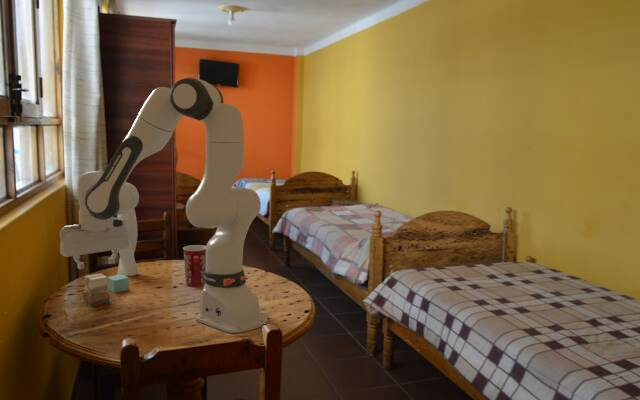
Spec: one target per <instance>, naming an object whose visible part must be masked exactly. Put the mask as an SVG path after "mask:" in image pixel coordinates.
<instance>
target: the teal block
mask: <svg viewBox="0 0 640 400" xmlns="http://www.w3.org/2000/svg"><path fill="white" fill-rule="evenodd" d="M129 285H130V284H129V277H128V276H124V275H117V274H116V275H111V276H107V290H110V291H111V292H112V293H114V294H115V293H119V292H124V291H129V287H130V286H129Z"/></svg>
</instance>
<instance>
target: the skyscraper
mask: <svg viewBox="0 0 640 400" xmlns="http://www.w3.org/2000/svg"><path fill="white" fill-rule="evenodd" d="M135 209H136V208H134V209H133V210H131V211H128V212H125V213H123V214H119V215H116V218H120V219H123V220H125V221H126V225H125V226H124V227H125V228H126V229H127V231H128V235H129V246H128V247H127V248H123V249H118V254H119V261H118V266H117V271H116V272H117V273H116V275H124V276H126V277H128V276H131V277H133V276H136V275H139V271H138V268H137V264H136V259H135V251H136V247H137V241H138V230H139V229H138V221H137V215H136V210H135Z"/></svg>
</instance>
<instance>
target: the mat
mask: <svg viewBox="0 0 640 400" xmlns="http://www.w3.org/2000/svg"><path fill="white" fill-rule="evenodd" d="M80 301H81V302H82V303H84V304H85V305H86V306H88V307H92V306H98V305H103V304H107V303H111V302H112V300H110V301H109V302H104V303H100V304H95V305H89V304H87V303H86V302H85V301H83V299H80Z"/></svg>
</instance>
